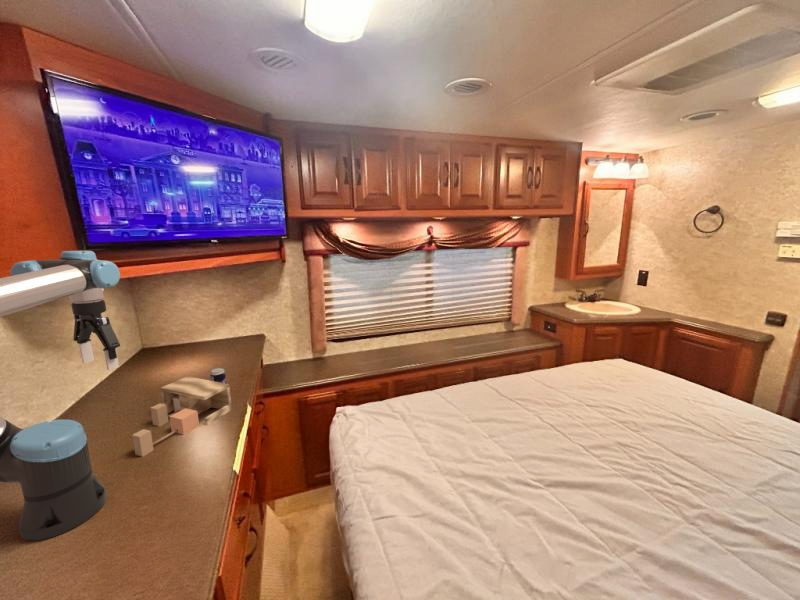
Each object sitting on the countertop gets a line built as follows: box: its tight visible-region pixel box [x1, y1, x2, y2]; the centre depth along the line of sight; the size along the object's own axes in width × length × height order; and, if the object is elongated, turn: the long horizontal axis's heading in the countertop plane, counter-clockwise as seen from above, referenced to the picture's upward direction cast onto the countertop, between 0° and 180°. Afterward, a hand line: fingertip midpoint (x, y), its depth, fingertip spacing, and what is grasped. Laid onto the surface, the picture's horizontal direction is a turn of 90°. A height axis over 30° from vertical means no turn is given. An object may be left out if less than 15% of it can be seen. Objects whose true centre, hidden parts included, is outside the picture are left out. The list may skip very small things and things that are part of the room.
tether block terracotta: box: [131, 408, 200, 458], centre depth 109 cm, size 19×6×7 cm, turn 161°
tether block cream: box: [150, 396, 181, 427], centre depth 124 cm, size 15×6×7 cm, turn 161°
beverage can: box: [209, 367, 227, 384], centre depth 140 cm, size 6×6×12 cm
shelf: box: [160, 376, 233, 425], centre depth 126 cm, size 11×23×11 cm, turn 71°
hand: (100, 365), depth 102 cm, fingers open, 13 cm apart
